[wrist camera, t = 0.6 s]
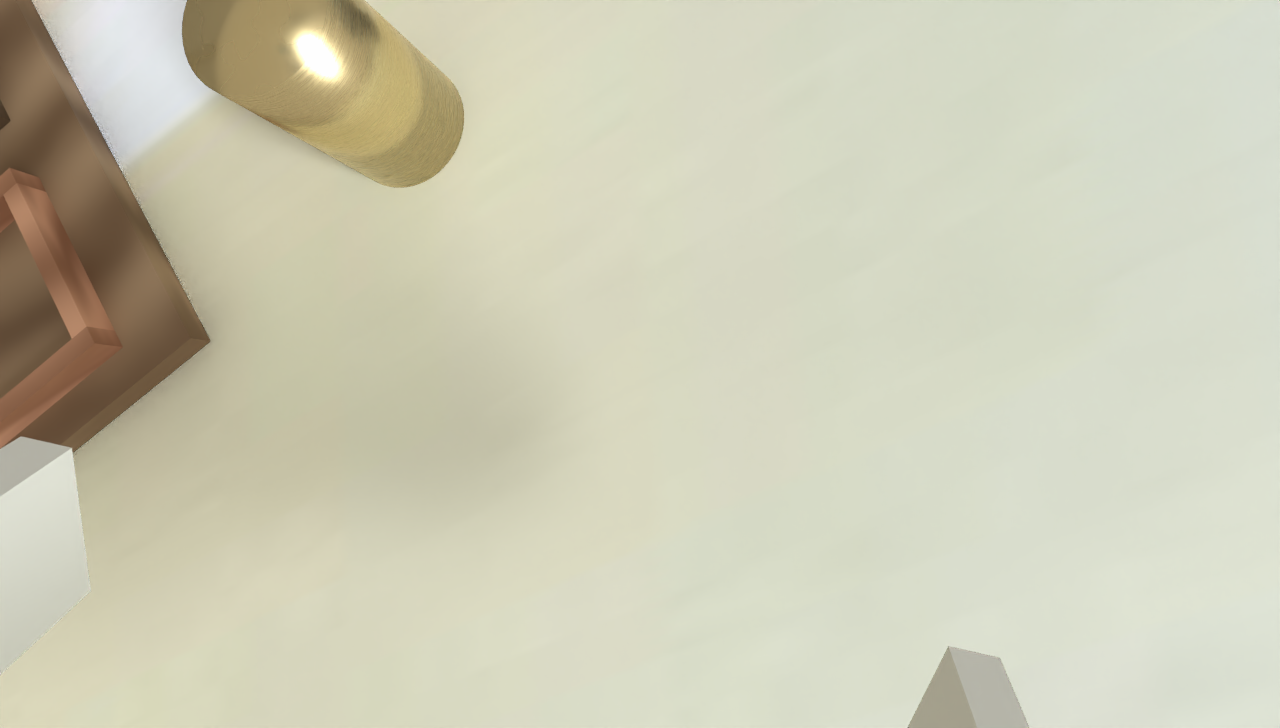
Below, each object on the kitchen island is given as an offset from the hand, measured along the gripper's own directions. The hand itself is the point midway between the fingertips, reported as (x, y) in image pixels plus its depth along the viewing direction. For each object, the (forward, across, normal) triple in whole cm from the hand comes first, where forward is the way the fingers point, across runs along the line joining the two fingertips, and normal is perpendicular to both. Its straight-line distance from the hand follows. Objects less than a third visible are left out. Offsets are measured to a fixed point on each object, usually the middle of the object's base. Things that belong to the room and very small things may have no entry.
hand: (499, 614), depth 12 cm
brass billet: (+28, -12, +1) cm, 31 cm away
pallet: (+30, -36, -10) cm, 48 cm away
